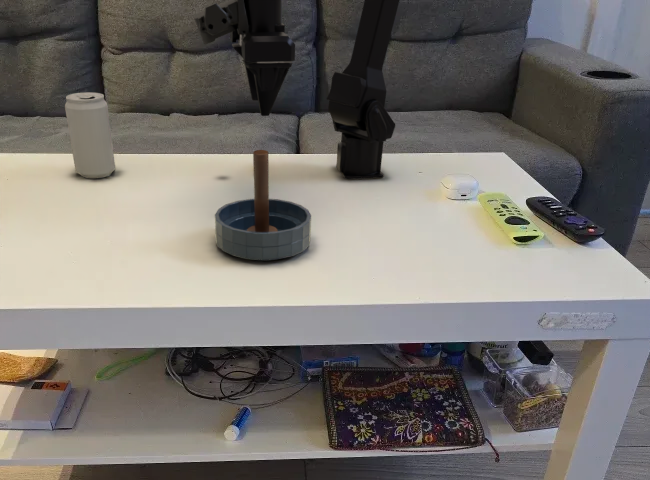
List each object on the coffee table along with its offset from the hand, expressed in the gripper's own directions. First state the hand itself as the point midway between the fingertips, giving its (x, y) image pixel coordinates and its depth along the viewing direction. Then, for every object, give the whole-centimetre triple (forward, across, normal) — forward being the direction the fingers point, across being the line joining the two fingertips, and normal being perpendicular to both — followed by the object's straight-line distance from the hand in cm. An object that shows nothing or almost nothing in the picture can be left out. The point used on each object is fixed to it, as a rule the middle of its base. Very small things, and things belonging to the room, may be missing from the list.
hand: (260, 107), depth 93 cm
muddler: (+12, +17, -2) cm, 21 cm away
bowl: (+13, +17, -2) cm, 21 cm away
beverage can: (+13, -15, -25) cm, 32 cm away
